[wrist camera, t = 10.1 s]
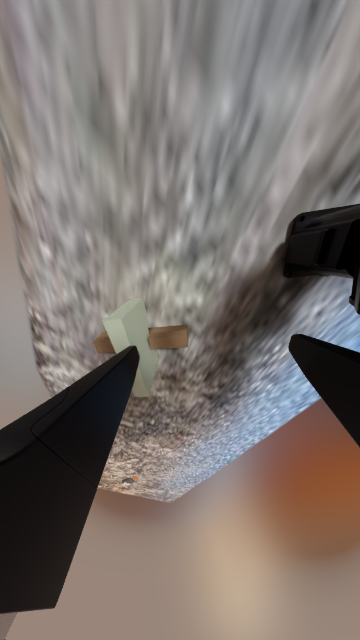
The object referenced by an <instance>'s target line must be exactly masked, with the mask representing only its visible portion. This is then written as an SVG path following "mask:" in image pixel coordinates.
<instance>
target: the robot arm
mask: <svg viewBox="0 0 360 640" xmlns="http://www.w3.org/2000/svg"><path fill="white" fill-rule="evenodd" d="M300 217H302V220H301V221H300V220H299V219H300ZM285 261H286V263H285V268H284V273H283V276H284V277H286V278H292V277H301V276H310V275H319V274H326V275H332V276H339V277H345V278H351V279H353V286H352V294H351V296H350V297H349V303H350V304H352V305H353V306H354V307H355V309H356V312H357V313H358V314H360V204H356V205H349V206H343V207H337V208H330V209H324V210H318V211H311V212H305V213H301V214H299V215H297V216H296V218H295V220H294V224H293V229H292V234H291V237H290V239H289V244H288V249H287V254H286V259H285ZM288 272H290V274H289V275H287V274H288ZM289 351H290V353H291V354H292V356H293V358H294V359H295V361H296V362H297V364H298V366H299V367H300V369H301V370H302V372H303V374H304V375H305V377H306V378H307V379H308V381H309V382H310V383H311V385H312V386H313V387H314V388H315V390H316V391H317V392H318V394H319V395H320V396H321V398H322V399H323V400H324V402H325V403H326V404H327V405H328V407H329V408H330V409H331V411H332V412H333V413H334V415H335V416H336V417H337V418H338V420H339V421H340V422H341V424H342V425H343V426H344V428H345V429H346V430H347V431H348V433H349V434H350V435H351V437H352V438H353V439H354V441H355V442H356V443H357V444H358V446H359V447H360V353H359V352H356V351H353V350H350V349H347V348H344V347H341V346H337V345H334V344H331V343H328V342H325V341H322V340H319V339H316V338H313V337H310V336H306V335H303V334H294V335H292V336H291V340H290V343H289ZM139 360H140V355H139V352H138V349H137V347H136V346H135V345H134V346H128V347H127V348H125V349H124V350H122V351H121V352H119V353H118V354H116V355H115V356H113V357H112V358H110V359H109V360H107V361H106V362H104V363H103V364H101V365H100V366H98V367H97V368H96V369H94V370H93V371H91V372H90V373H88V374H87V375H85V376H84V377H82V378H81V379H79V380H78V381H76V382H75V383H73V384H72V385H71V386H69V387H67V388H66V389H64V390H63V391H61V392H60V393H58V394H57V395H55V396H54V397H52V398H51V399H49V400H48V401H46V402H45V403H43V404H41V405H40V406H38V407H36V408H35V409H33V410H32V411H30V412H28V413H27V414H25V415H23V416H22V417H20V418H19V419H17V420H15V421H14V422H12V423H10V424H9V425H7V426H6V427H4V428H2V429H1V430H0V640H5V637H6V635H7V633H8V631H9V629H10V627H11V624H12V623H13V620H14V618H15V616H16V614H17V612H23V611H34V610H43V609H52V608H55V606H56V604H57V601H58V599H59V596H60V593H61V591H62V588H63V585H64V582H65V579H66V576H67V573H68V571H69V568H70V565H71V562H72V559H73V556H74V553H75V551H76V548H77V545H78V542H79V539H80V536H81V534H82V531H83V528H84V525H85V522H86V519H87V516H88V513H89V511H90V508H91V505H92V502H93V499H94V496H95V493H96V491H97V487H98V485H99V482H100V479H101V476H102V473H103V470H104V467H105V465H106V462H107V459H108V456H109V453H110V450H111V448H112V445H113V442H114V439H115V436H116V433H117V430H118V428H119V425H120V422H121V419H122V416H123V413H124V410H125V408H126V405H127V402H128V399H129V396H130V393H131V390H132V388H133V385H134V381H135V377H136V373H137V369H138V365H139Z"/></svg>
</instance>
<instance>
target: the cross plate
mask: <svg viewBox="0 0 360 640" xmlns="http://www.w3.org/2000/svg"><path fill="white" fill-rule="evenodd" d="M102 322H103V324H104V326H105V329H106V331H107V333H108V336H109V338H110V340H111V343H112V345H113V347H114V350H115V352H116V354H118V353H119V352H121V351H122V350H124V349H125V348H127V347H128V346H134V345H135V346H136V347H137V349H138V352H139V355H140V360H139V365H138V369H137V373H136V377H135V381H134V385H133V388H132V392H133V394H134V396H135V397H149V394H150V390H151V386H152V383H153V379H154V376H155V372H156V368H157V365H158V361H159V359H158V356H157V352H156V349H152V350H151V347H150V343H149V340H148V337H149V335H150V334H149V330H148V327H149V321H148V317H147V313H146V309H145V305H144V301H143V298H137V299H129V300H128V301H127V302H125V303H124V304H123V305H122V306H120V307H119V308H118V309H117V310H115V311H114V312H113V313H112V314H110V315H109V316H108V317H107V318H105V319H104V320H103V321H102Z"/></svg>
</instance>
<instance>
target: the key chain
mask: <svg viewBox="0 0 360 640" xmlns="http://www.w3.org/2000/svg"><path fill="white" fill-rule="evenodd" d="M138 478H140V477H135V476H133V478H127V479H124V480H122V483H123V484H124V485H125V484H126V485H130V484H131V483H133V482H134V481H136V479H138Z"/></svg>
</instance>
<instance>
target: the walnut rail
mask: <svg viewBox="0 0 360 640" xmlns="http://www.w3.org/2000/svg"><path fill="white" fill-rule="evenodd" d="M148 330H149V334H150V335H149V337H148V340H149V343H150V347H151V350H152V349H167V348H182V347H188V329H187V325H180V326H168V327H156V328H148ZM93 344H94V346H95V348H96V350H97V352H98V353H105V352H115V350H114V347H113V345H112V343H111V340H110V338H109V336H108V333H107V332H103V333H102V334H101V335H100V336H99V337H98V338H97V339H96V340H95V341H94V342H93Z"/></svg>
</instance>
